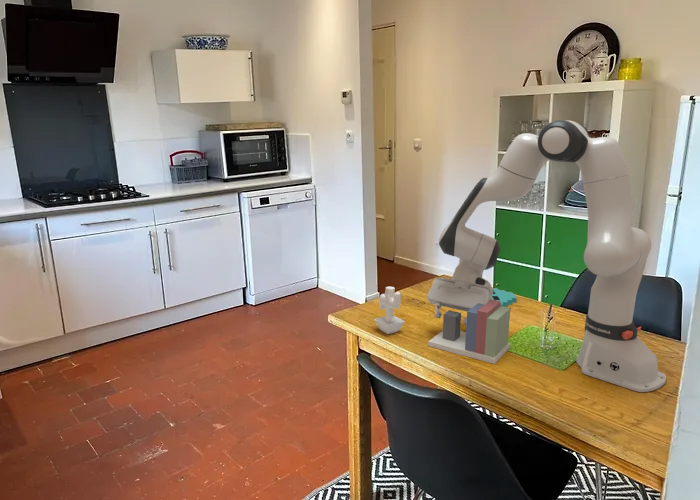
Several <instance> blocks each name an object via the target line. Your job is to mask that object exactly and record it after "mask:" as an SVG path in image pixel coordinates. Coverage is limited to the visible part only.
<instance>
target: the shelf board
mask: <svg viewBox="0 0 700 500" xmlns="http://www.w3.org/2000/svg"><path fill="white" fill-rule="evenodd" d="M466 318H467V323H466V325H465V326H466V327H465V331H462V330H460V337H459V338H458V339H457V340H456V341H451V340H447V339H443V330H441V331H440V332H439V333H437V334H436V335H435V336H433V337H432V338H431V339H430V340H428V344H427V345H428V347H432V348H435V349H438V350H442V351H446V352H448V353H449V352H450V353H452V354H456V355H460V356H464V357H468V358H471V359H475V360H479V361H482V362H486V363H490V364H492V365H495V364H496V363H497V362H498V361H499V360H500V359H501V358H503V356H504V355H505V354H506V353H507V351H508V350H509V349H510V348H511V342H509V331H510V321H511V320H510V319H511V308H510V307H502V306H501V301H496V300H490V301H489V302H487V303H486V304H485V305H484V304H480V303H478V304H476V305H475V306H474V307H473V308H471V309H470V310H469V311H467V312H466Z"/></svg>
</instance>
